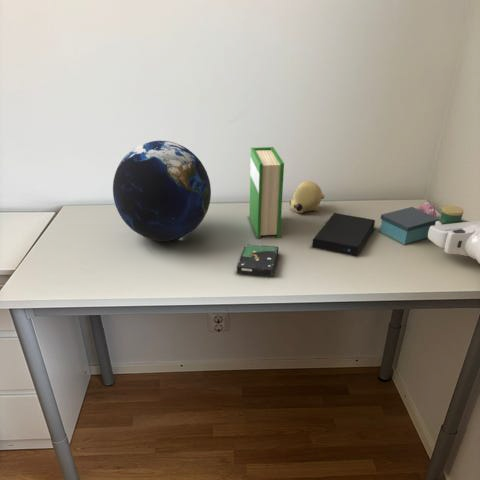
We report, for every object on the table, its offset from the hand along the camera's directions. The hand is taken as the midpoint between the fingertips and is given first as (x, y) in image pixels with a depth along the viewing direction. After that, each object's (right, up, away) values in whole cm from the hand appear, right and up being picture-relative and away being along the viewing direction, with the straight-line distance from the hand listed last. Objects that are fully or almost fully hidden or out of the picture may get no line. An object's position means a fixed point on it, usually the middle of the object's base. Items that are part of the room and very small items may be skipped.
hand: (447, 221), depth 159 cm
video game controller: (-1, +4, +20) cm, 20 cm away
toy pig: (-41, +9, +27) cm, 50 cm away
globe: (-89, -4, +7) cm, 89 cm away
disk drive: (-59, -14, -8) cm, 61 cm away
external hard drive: (-31, -4, +8) cm, 32 cm away
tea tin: (0, -5, +2) cm, 6 cm away
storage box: (-9, -2, +10) cm, 14 cm away
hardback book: (-56, +1, +14) cm, 58 cm away
